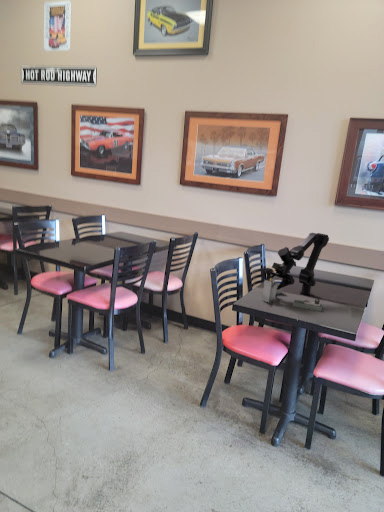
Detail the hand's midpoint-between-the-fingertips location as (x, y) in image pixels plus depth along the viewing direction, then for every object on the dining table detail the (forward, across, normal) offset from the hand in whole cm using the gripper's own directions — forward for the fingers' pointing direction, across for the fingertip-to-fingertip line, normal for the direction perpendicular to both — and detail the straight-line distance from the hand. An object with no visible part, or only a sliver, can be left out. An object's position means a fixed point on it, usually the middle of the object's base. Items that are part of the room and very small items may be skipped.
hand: (271, 286), depth 213 cm
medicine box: (-3, -8, +16) cm, 18 cm away
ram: (-3, +20, +13) cm, 24 cm away
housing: (+6, 0, +6) cm, 9 cm away
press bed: (-2, +12, +14) cm, 18 cm away
